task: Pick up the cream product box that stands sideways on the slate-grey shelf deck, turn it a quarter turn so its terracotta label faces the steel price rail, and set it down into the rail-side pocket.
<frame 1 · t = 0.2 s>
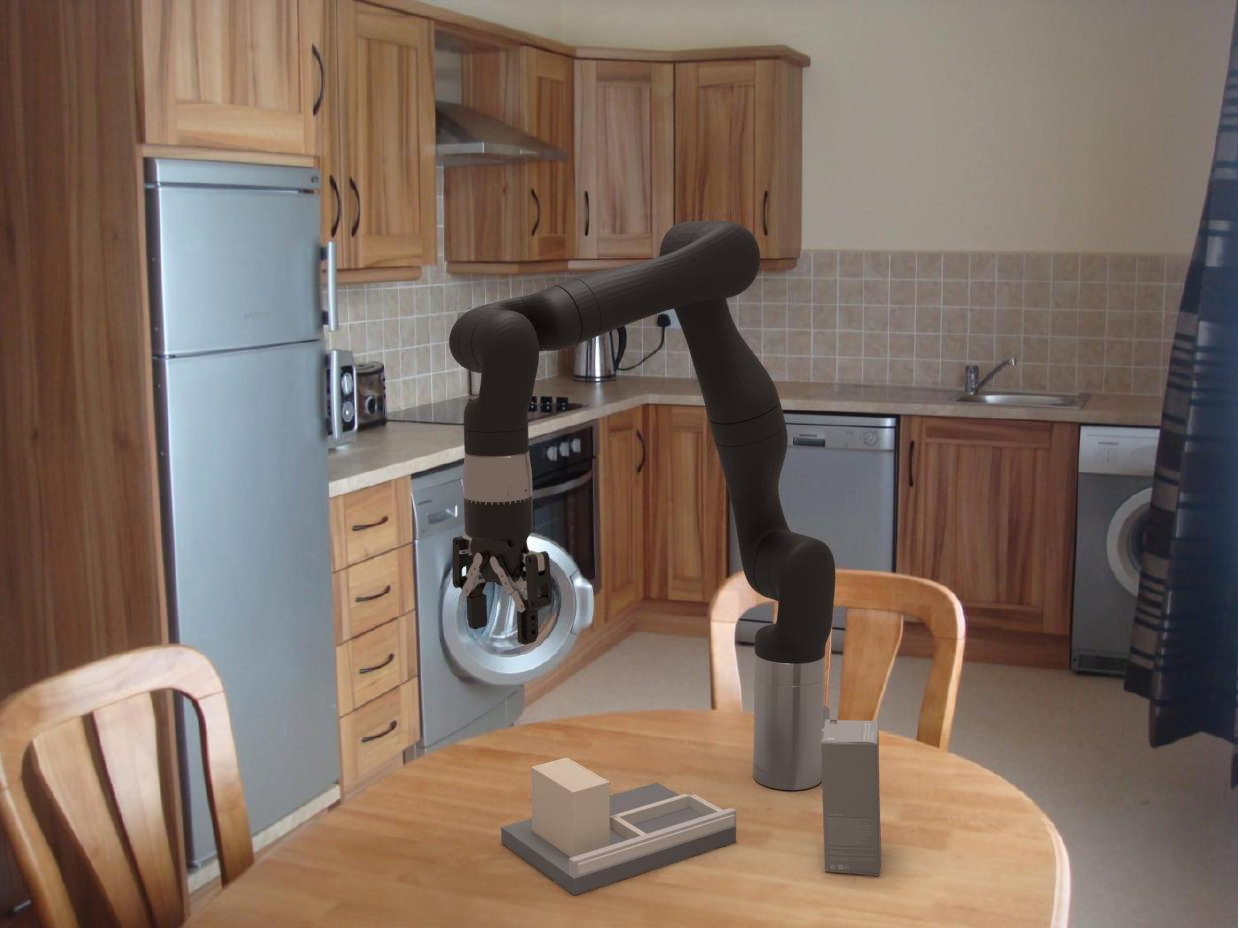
hand: (502, 634, 152), 28 cm above the table, fingers open, 8 cm apart
cream box: (570, 838, 159), point 2 cm above the table, touching shelf deck
shelf deck: (618, 842, 162), on the table
skincare box: (849, 860, 158), on the table
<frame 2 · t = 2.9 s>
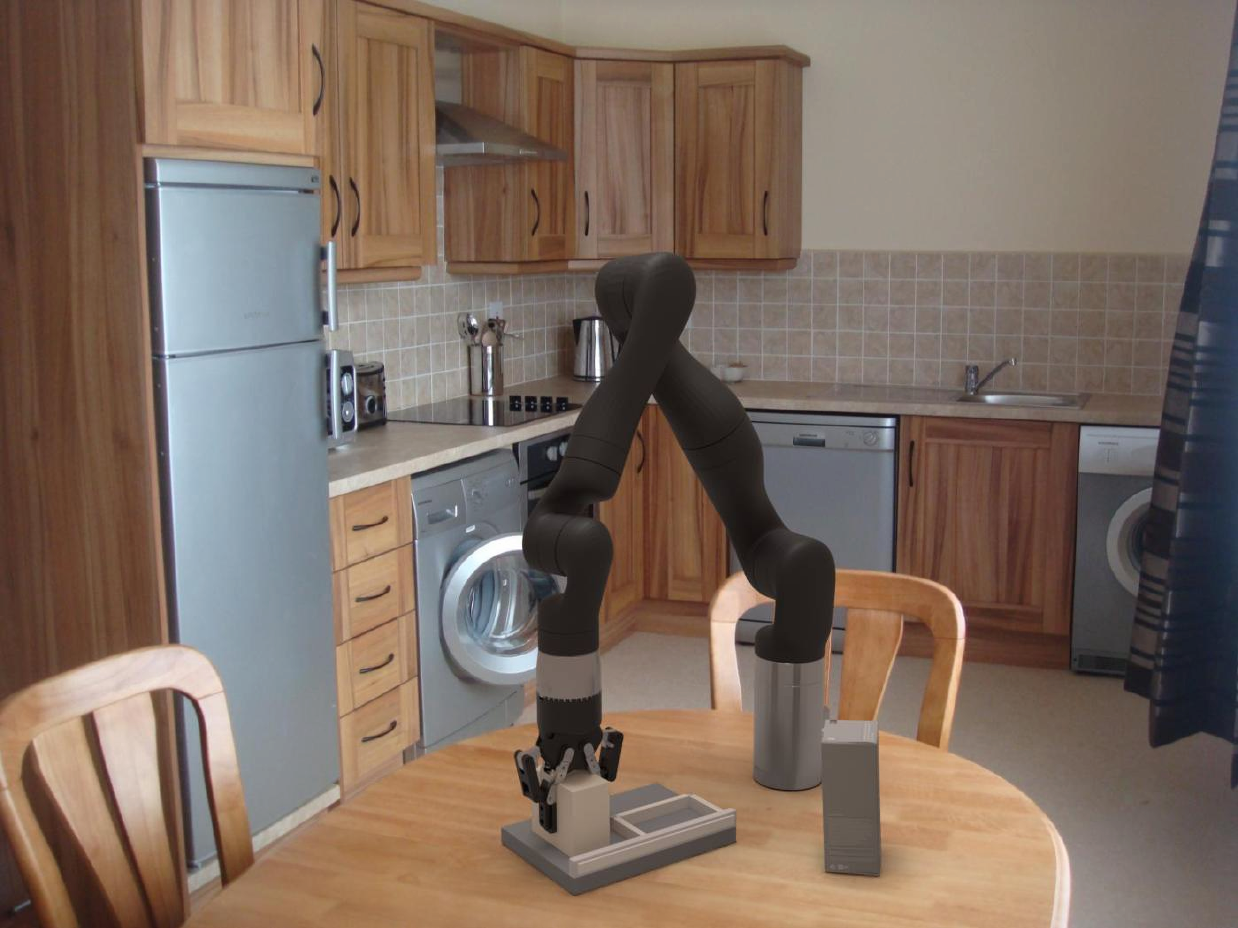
hand: (570, 823, 159), 4 cm above the table, fingers closed on cream box, 5 cm apart
cream box: (570, 838, 159), point 2 cm above the table, touching gripper, shelf deck
everything else where it was.
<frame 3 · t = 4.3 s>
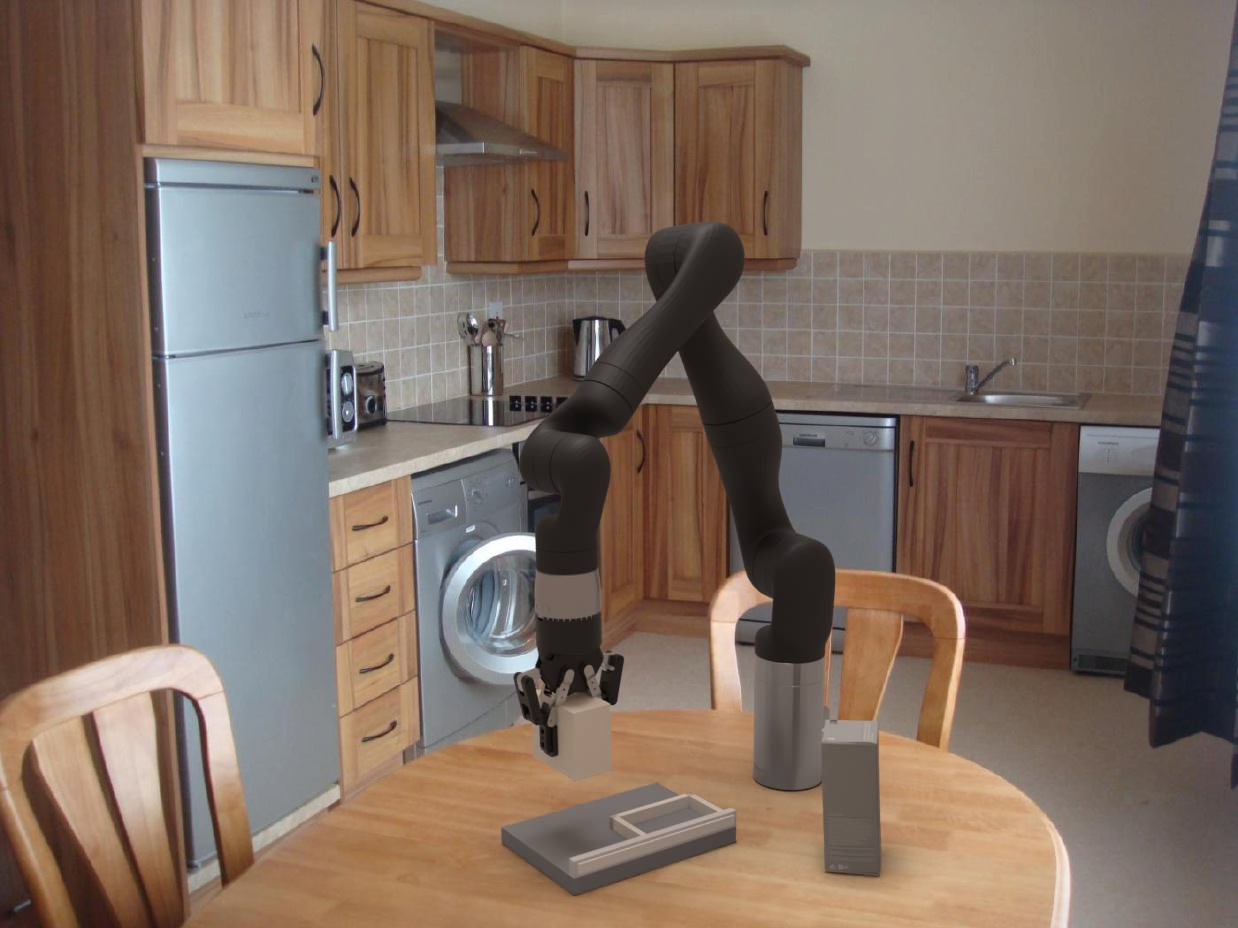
hand: (571, 748, 157), 13 cm above the table, fingers closed on cream box, 5 cm apart
cream box: (571, 763, 157), point 11 cm above the table, touching gripper
everything else where it was.
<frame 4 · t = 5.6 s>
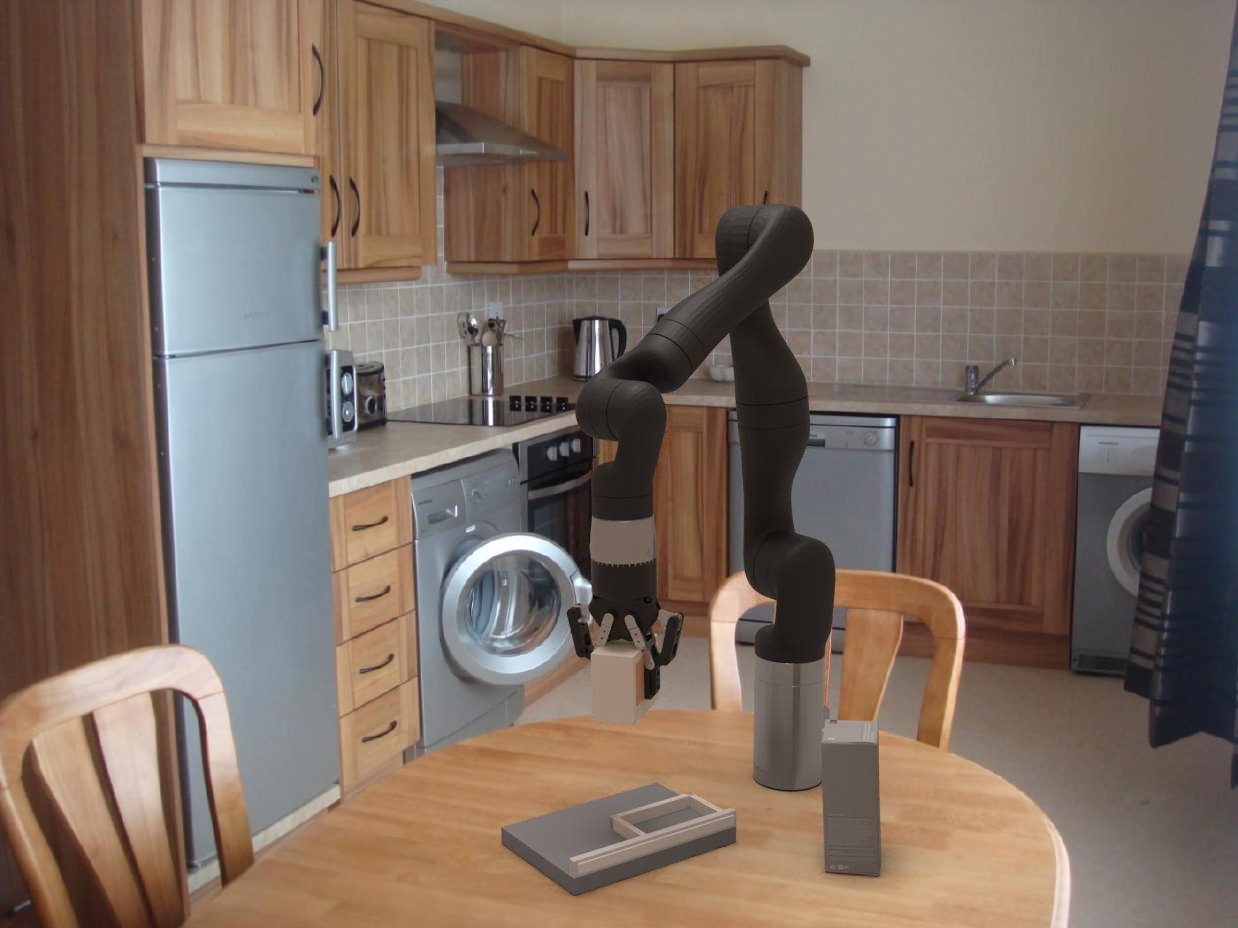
hand: (626, 694, 158), 19 cm above the table, fingers closed on cream box, 5 cm apart
cream box: (626, 709, 159), point 17 cm above the table, touching gripper
everything else where it was.
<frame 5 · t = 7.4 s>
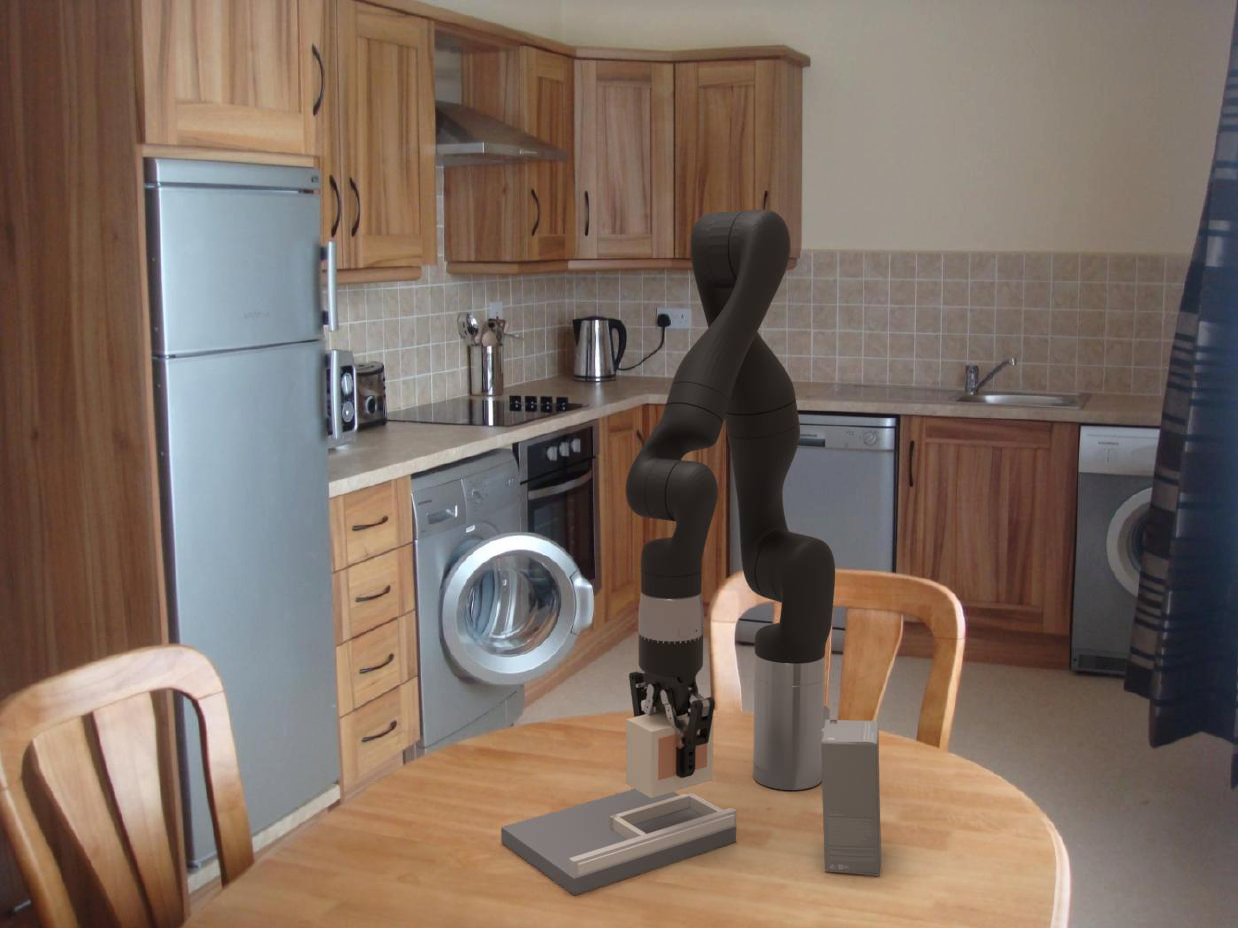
hand: (670, 767, 161), 10 cm above the table, fingers closed on cream box, 5 cm apart
cream box: (669, 781, 161), point 8 cm above the table, touching gripper
everything else where it was.
when the fingers open (5 cm above the table, at t = 8.8 s): cream box drops 2 cm, resting on shelf deck.
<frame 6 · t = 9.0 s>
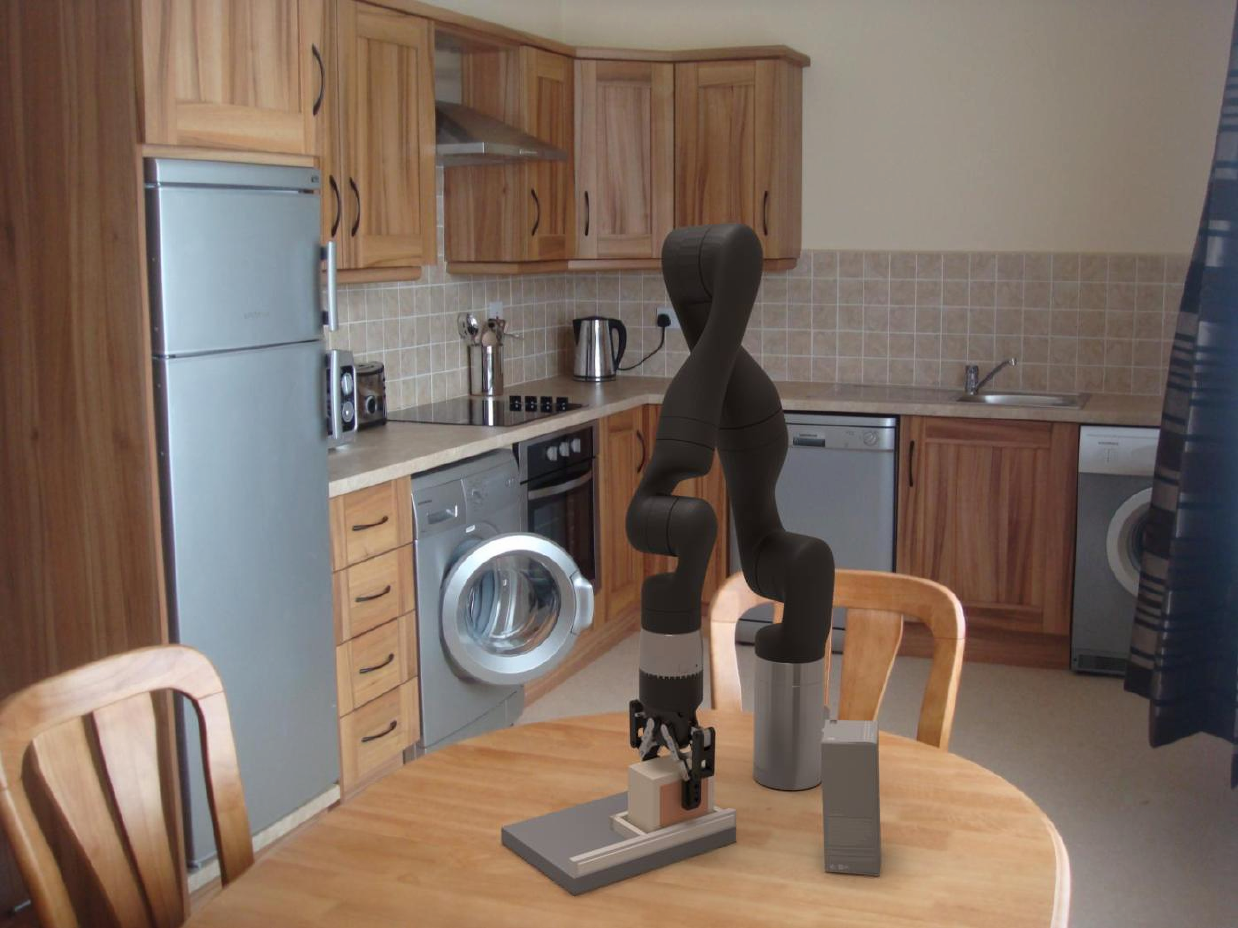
hand: (670, 796, 161), 6 cm above the table, fingers open, 7 cm apart
cream box: (670, 827, 162), point 2 cm above the table, touching shelf deck
everything else where it was.
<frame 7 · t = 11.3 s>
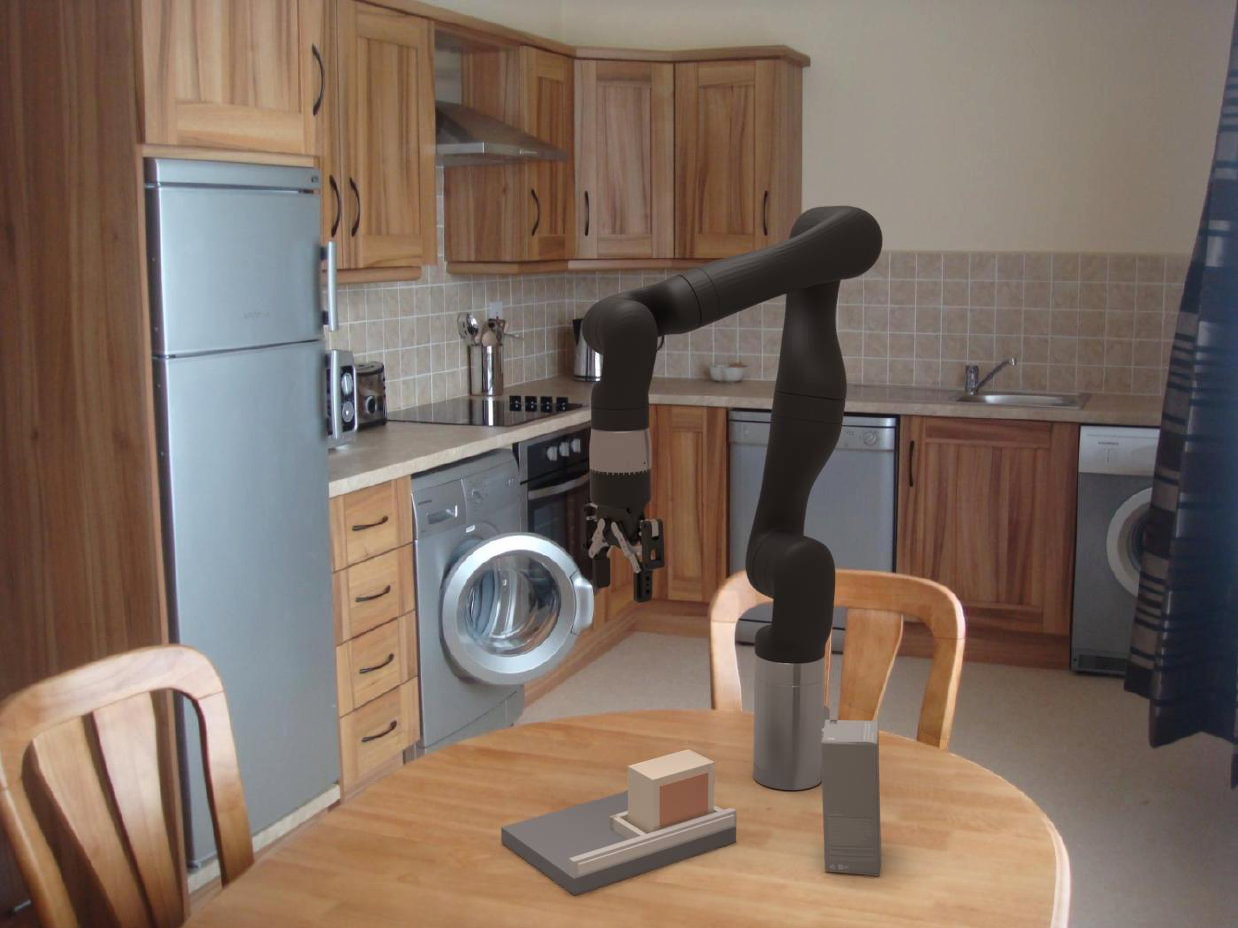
hand: (621, 593, 168), 28 cm above the table, fingers open, 8 cm apart
nothing on the table moved.
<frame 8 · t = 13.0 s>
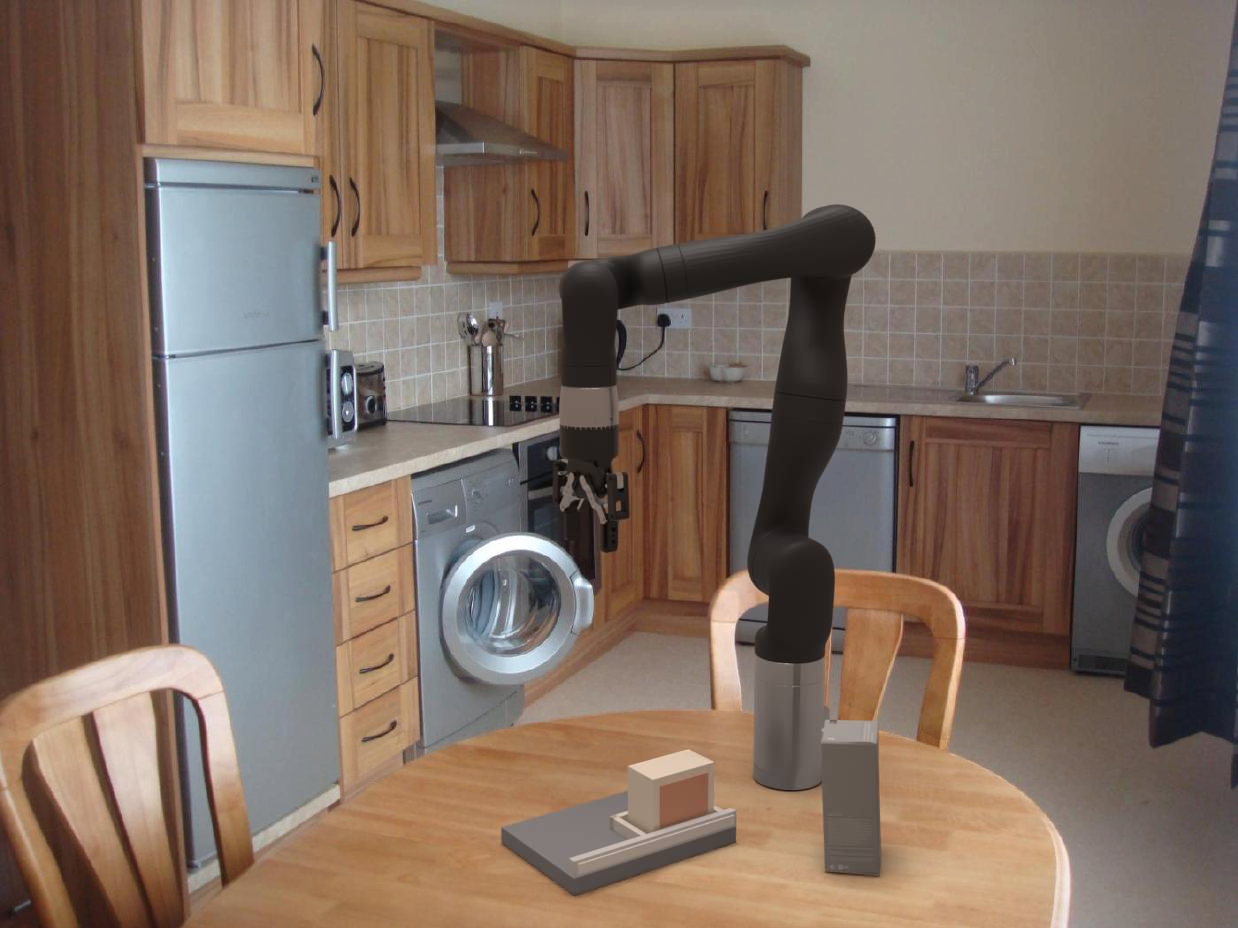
hand: (590, 545, 175), 32 cm above the table, fingers open, 8 cm apart
nothing on the table moved.
at the end: cream box 0.1 cm from the target spot on the shelf deck, point 2.0 cm above the shelf deck's base; cream box tilted 0°; the gripper is holding nothing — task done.
